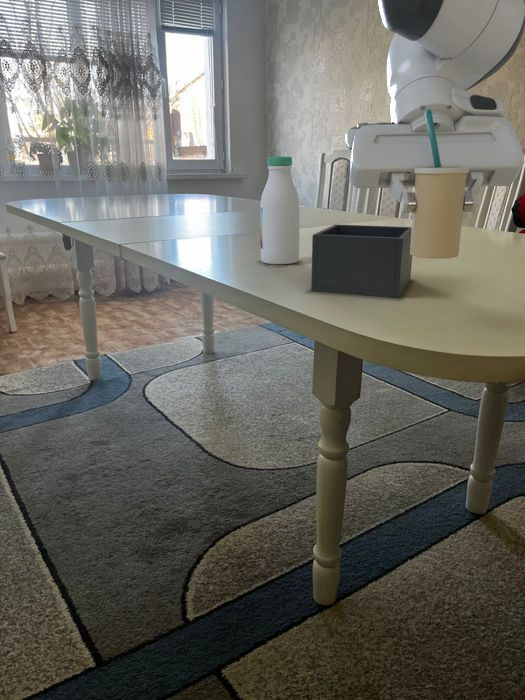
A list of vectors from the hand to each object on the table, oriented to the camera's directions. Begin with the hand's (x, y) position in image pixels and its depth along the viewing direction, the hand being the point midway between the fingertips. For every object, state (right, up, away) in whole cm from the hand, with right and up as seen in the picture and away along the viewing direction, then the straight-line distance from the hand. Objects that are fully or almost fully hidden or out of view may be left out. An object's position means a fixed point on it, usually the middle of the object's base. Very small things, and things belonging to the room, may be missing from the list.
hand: (439, 209), depth 63 cm
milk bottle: (-17, +1, +46) cm, 50 cm away
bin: (-4, -6, +26) cm, 27 cm away
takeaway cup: (0, -5, +2) cm, 5 cm away
